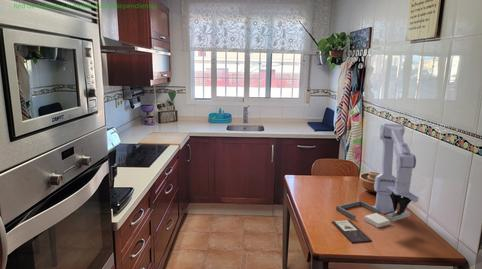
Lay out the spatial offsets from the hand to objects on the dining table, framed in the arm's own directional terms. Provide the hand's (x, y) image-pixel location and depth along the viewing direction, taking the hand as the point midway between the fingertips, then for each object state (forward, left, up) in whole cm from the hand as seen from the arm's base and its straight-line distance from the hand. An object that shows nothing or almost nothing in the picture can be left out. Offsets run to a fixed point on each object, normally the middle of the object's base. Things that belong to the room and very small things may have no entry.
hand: (398, 211), depth 143 cm
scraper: (0, 0, -3) cm, 3 cm away
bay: (+1, -21, -10) cm, 23 cm away
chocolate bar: (+19, -8, -10) cm, 23 cm away
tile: (+1, -10, -10) cm, 14 cm away
